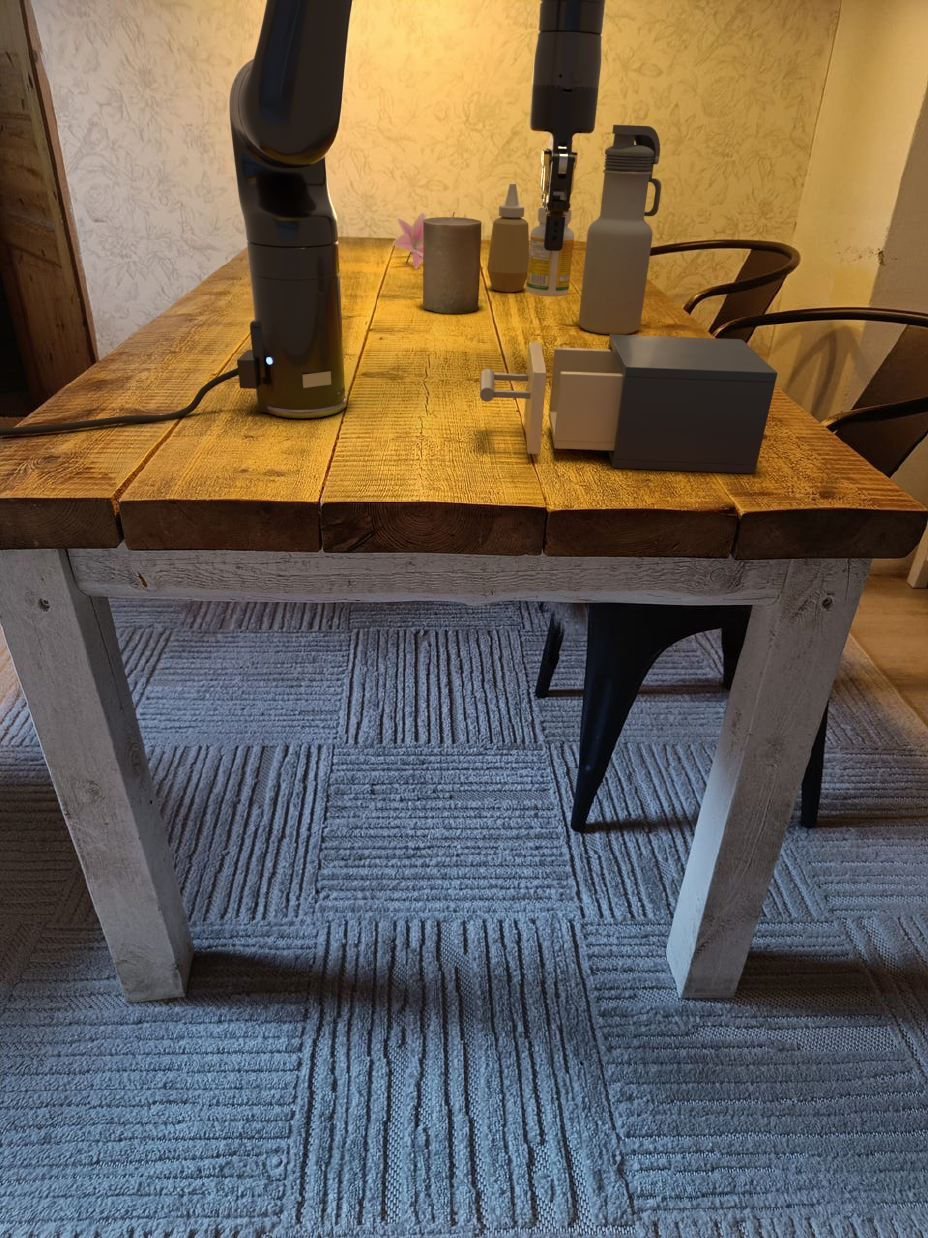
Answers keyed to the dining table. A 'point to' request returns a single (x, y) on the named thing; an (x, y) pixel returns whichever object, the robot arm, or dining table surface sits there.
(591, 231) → the water bottle
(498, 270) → the squeeze bottle
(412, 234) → the lily
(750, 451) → the cabinet
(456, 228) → the pillar candle
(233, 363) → the dining table surface
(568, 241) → the supplement bottle
